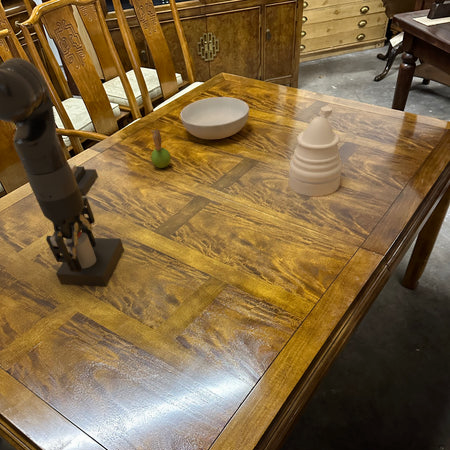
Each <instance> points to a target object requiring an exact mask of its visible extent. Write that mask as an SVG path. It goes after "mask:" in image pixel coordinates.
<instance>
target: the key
mask: <svg viewBox="0 0 450 450" xmlns="http://www.w3.org/2000/svg"><path fill="white" fill-rule="evenodd" d="M69 165H70V167H71V169H72V171H73V174H75V172H76V171H77V168H76V164H69Z"/></svg>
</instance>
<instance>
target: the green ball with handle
mask: <svg viewBox="0 0 450 450" xmlns="http://www.w3.org/2000/svg"><path fill="white" fill-rule="evenodd" d="M151 134H152V140H153V144H154V149H153V150H152V153H151V154H150V160H151V163H152V164H153V165H154V166H155V167H156V168H159V169H165V168H167V167H168V166H169V165H170V163H171V161H172V157H171V153H170V151H168V149H167V148H164V147H162V135H161V132H160V130H159V129H155V130H151Z"/></svg>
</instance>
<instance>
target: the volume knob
mask: <svg viewBox="0 0 450 450" xmlns="http://www.w3.org/2000/svg"><path fill="white" fill-rule="evenodd" d="M77 238H78V245H77V246H76V256H77V257H78V260H79V262H80V264H81V267H82V269H84V268H88V267H91V266H92V265H94V264H95V262H96V256H95V254H94V251H93V248H92V246H91V243H90V241H89V238H88V235H87V234H86V233H84V232H81V231H80V232H79V233H78V236H77ZM64 240H65V242H72V239H64ZM67 249H68V252H70V253H71V251H70V247H67Z"/></svg>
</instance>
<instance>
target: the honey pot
mask: <svg viewBox="0 0 450 450" xmlns="http://www.w3.org/2000/svg"><path fill="white" fill-rule="evenodd" d="M332 113H333V107H331V106H322V107H320V114H321V116H316V117H315V118H313V119H312V120H311V121H310V122H309V123H308V124H307V126H306V127H305V129H304V130H303V131H301V132H300V133H299V134H298V135H297V137H296V143H297V146H296V147H294V151H293V155H292V157H291V159H290V162H289V168H288V186H289V188H290V189H291V190H292V191H293V192H294V193H297V194H300V195H302V196H305V197H323V196H328V195H331V194H332V193H334V192H336V191H337V190H338V189H339V188H340V185H341V176H342V170H343V162H342V160H341V155H340V149H339V147H338V144H339V143H340V140H341V139H340V135H339V134H338V132H335V131H334V130H333V128H332V126H331V124H330V122H329V121H328V120H327V119H328V118H329V117H330V116H331V115H332Z"/></svg>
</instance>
